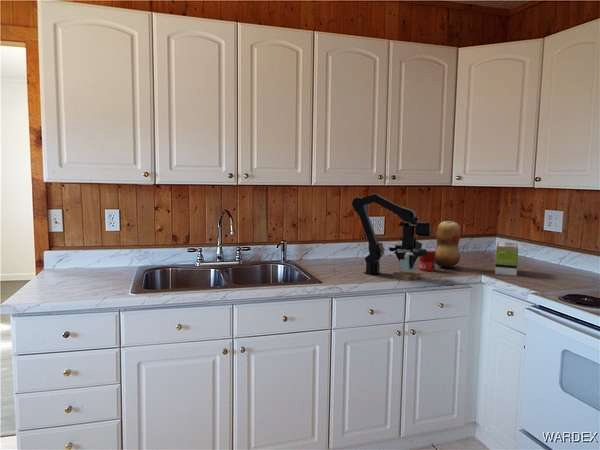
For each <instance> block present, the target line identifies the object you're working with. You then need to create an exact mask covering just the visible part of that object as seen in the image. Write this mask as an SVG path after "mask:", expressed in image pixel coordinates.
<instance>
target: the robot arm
mask: <svg viewBox="0 0 600 450" xmlns="http://www.w3.org/2000/svg"><path fill="white" fill-rule="evenodd" d="M373 203H375V204H377V205H379V206H380V207H382V208H385V209H387V210H389V211H390V212H393V213H394V214H395V215H397V217H399V218H400V219H401V221H400V223H398V224H397V226H398V227H402V228H401V229H402V230H401V232H402V233H401V237H400V238H399V241H401V244H397V243H396V244H390V246H389V247H388V250H389V252H393V253H394V254H395V255H396V258H397V259H398V262H399V263H400V259H405V255H406V253H411V254H409V255H408V259H409V263H410V269H412V268H413V266H414V264H415V263H416V261H417V259H418V258H419V256H425V255H427V250H426V249H421V248H422V246H423V243H422V242H420V241H417V237H421V238H422V237H423V238H424V237H425V238H431V236H432V226H431V225H432V223H431V222H421V221H420V220H419V218H417V213H416V211H415V210H414V209H413V208H408V207H405V206H400V205H398V204H396V203H395V202H393V201H391V200H389V199H387V198H385V197H383V196H381V195H380V194H378V193H371V194H370V195H368V196H364V197H361V196H359V197H355V198H353V200H352V201H351V206H352V208H353V210H354V212H355V213H356V214H357V215H358V217H359V220H360V222H361V225H362V229H363V231H364V234H365V236H366V237H365V238H366V241H367V243H368V252H369V254H368V255H367V256H365V257H364V261H365V271H363V273H364V274H366V275H370V276H375V275H376V276H377V275H382V272H380V269H381V267H380V266H381V264H380V260H381V258H382V257H383V256H384V255H385V250H386V249H385V247H384V244H383V242H379V241H378V239H377V235H376V233H375V230H374V227H373V225H372V222H371V219H370V216H369V212H368V211H369V209H368V205H370V204H373ZM415 235H417V237H415ZM415 265H416V264H415Z"/></svg>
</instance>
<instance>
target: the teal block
mask: <svg viewBox="0 0 600 450" xmlns="http://www.w3.org/2000/svg"><path fill="white" fill-rule="evenodd" d="M415 265H416V264H414V266H413V268H412V269H410V263H409V258H404V259H400V262H399V271H410V272H414V271H415Z"/></svg>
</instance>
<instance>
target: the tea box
mask: <svg viewBox="0 0 600 450" xmlns="http://www.w3.org/2000/svg"><path fill="white" fill-rule="evenodd" d="M495 248H496V249H495V264H494V265H495V266H494V268H495V269H494V273H495V275H503V276H513V277H515V276H517V275H518V274H517V273H518V258H519V246H518V243H517V242H509V241H508V242H507V241H505V242H504V241H497V242H496V246H495Z"/></svg>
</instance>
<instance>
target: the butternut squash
mask: <svg viewBox="0 0 600 450" xmlns="http://www.w3.org/2000/svg"><path fill="white" fill-rule="evenodd" d="M460 240H461V226H460V224H459V223H457V222H455V221H451V220H450V221H449V220H444V221H441V222H440V223H439V224H438V226H437V230H436V246H435V248H434V249H435V250H436V257H435V265H437V266H438V267H441V268H447V269H448V268H450V269H451V268H453V267H454V266H456V265H458V263H459V262H460V259H461V253H460V248H459V243H460Z"/></svg>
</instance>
